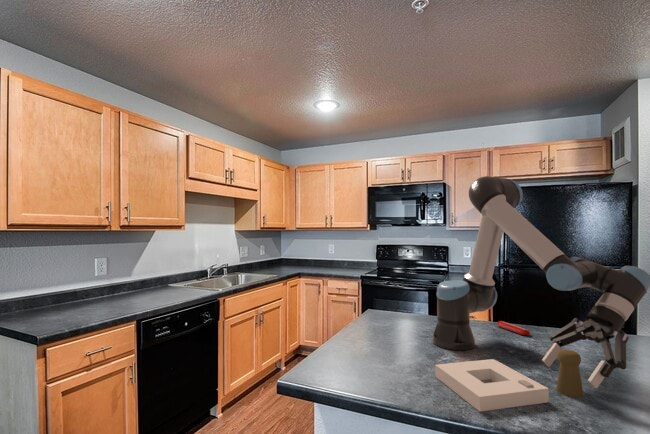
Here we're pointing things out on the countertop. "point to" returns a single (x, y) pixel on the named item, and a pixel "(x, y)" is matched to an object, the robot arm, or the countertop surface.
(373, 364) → the countertop surface
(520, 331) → the red rounded rod
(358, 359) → the countertop surface
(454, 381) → the socket block
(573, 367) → the cork
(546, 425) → the countertop surface
